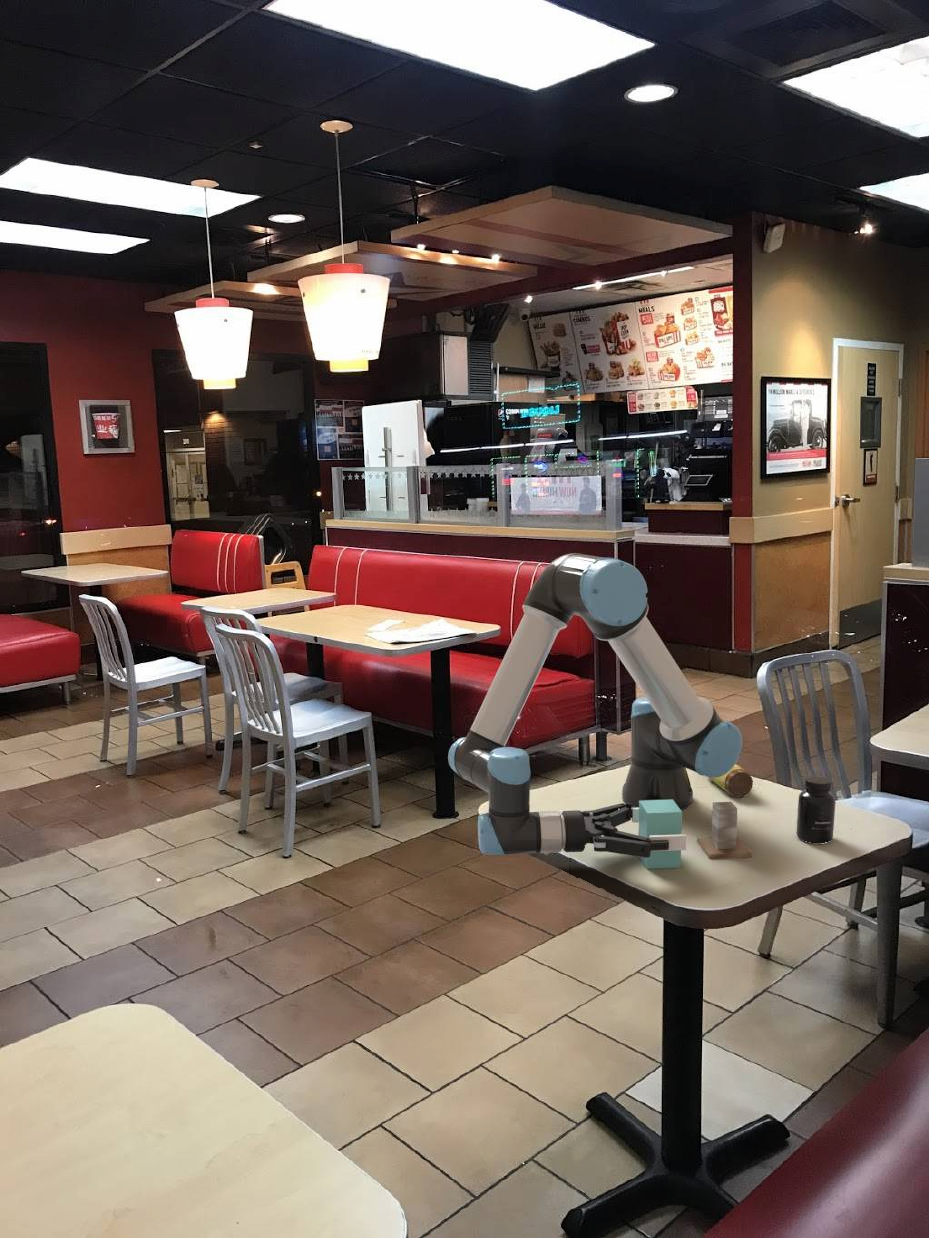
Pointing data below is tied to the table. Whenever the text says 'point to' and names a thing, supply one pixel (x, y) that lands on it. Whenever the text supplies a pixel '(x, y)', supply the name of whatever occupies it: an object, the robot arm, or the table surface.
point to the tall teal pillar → (660, 830)
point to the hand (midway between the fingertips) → (675, 827)
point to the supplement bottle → (816, 811)
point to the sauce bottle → (735, 781)
